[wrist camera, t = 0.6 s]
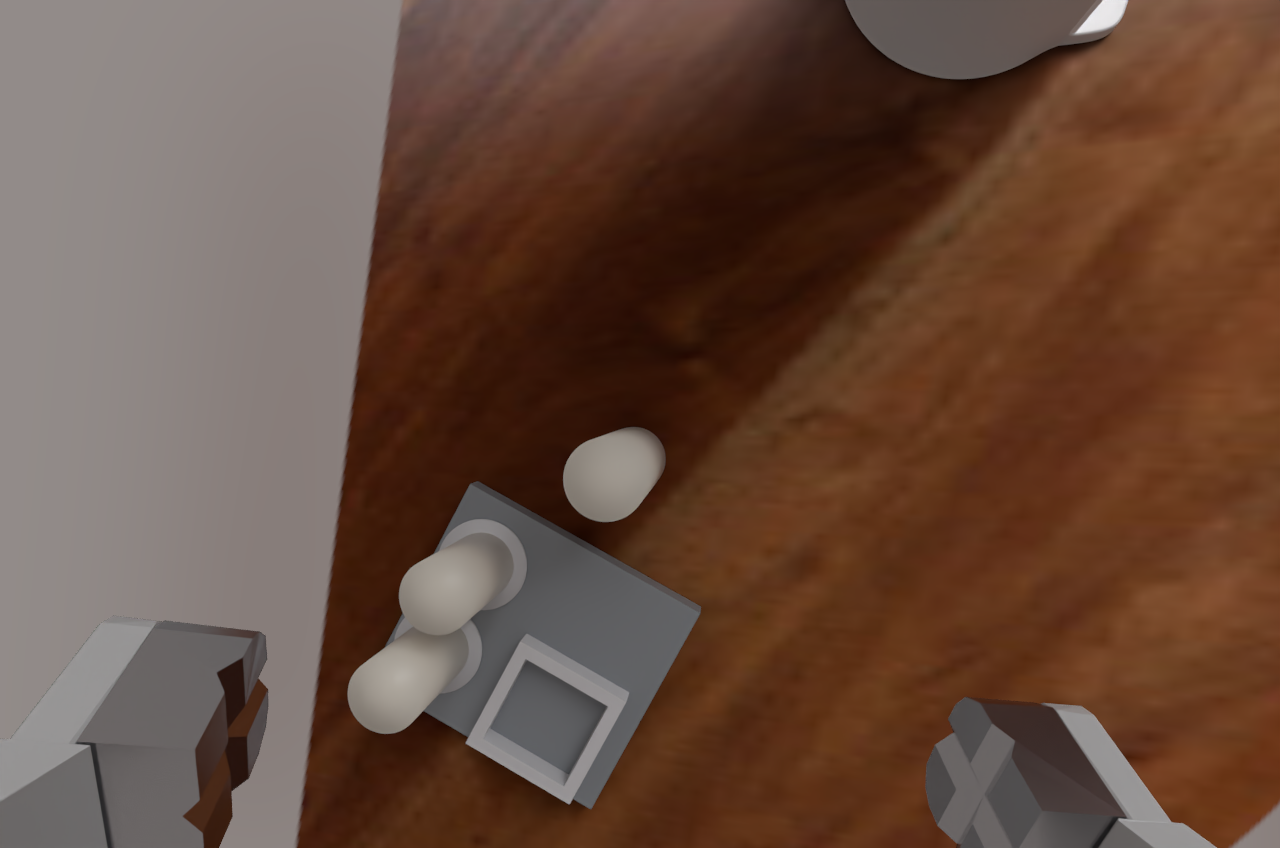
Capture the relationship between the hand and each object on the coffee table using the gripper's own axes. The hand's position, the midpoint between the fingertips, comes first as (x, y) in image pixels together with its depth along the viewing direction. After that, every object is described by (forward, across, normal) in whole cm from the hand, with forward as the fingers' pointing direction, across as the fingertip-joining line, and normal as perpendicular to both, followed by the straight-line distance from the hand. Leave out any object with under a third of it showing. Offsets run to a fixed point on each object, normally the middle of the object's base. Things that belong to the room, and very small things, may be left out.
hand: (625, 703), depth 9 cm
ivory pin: (+36, -5, +17) cm, 40 cm away
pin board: (+32, -1, +29) cm, 43 cm away
